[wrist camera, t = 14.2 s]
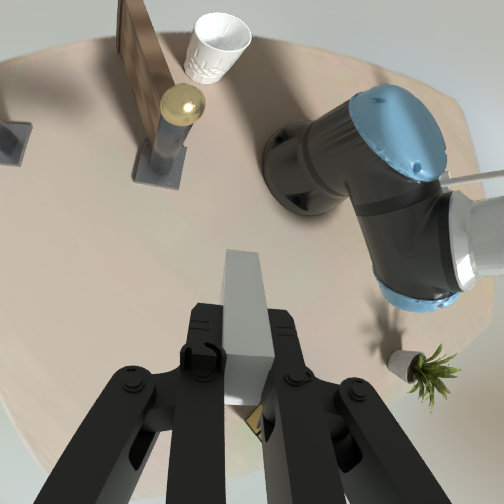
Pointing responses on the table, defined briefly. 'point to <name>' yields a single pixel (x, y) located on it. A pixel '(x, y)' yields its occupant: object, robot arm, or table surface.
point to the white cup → (215, 46)
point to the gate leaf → (142, 62)
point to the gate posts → (165, 146)
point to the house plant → (421, 371)
